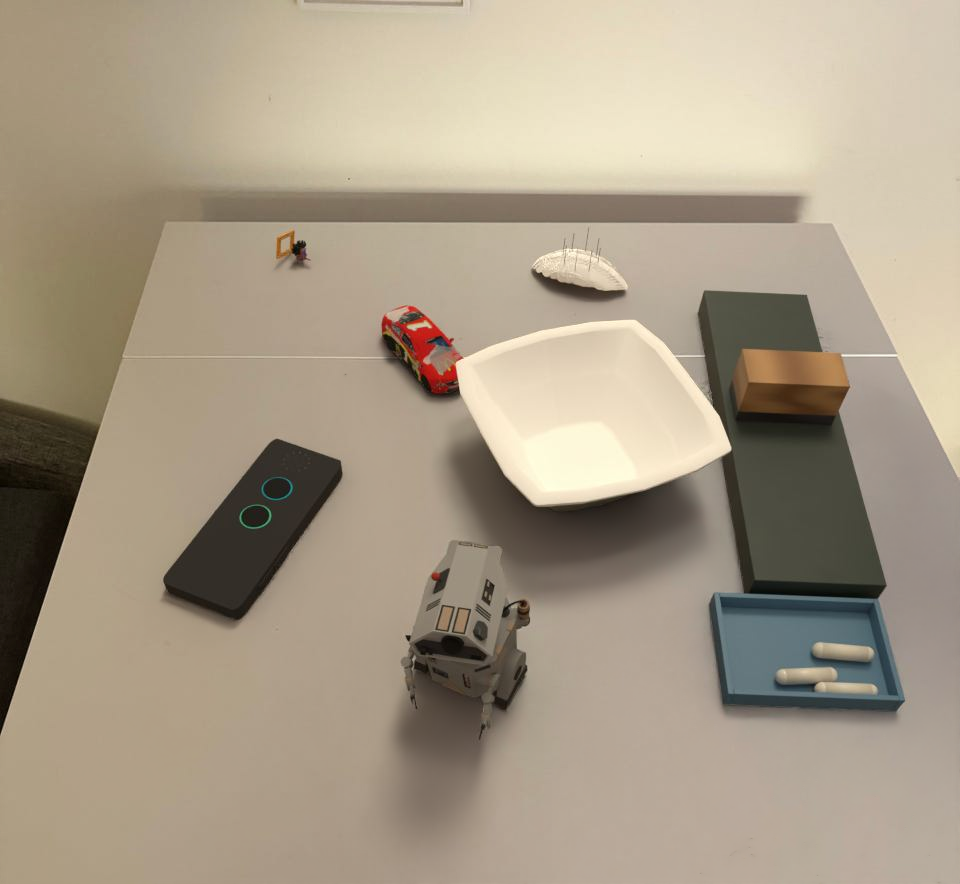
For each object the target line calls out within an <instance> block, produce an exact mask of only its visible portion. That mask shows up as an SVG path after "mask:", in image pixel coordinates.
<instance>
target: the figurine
mask: <svg viewBox="0 0 960 884" xmlns="http://www.w3.org/2000/svg"><path fill="white" fill-rule="evenodd" d="M502 553H503V548H502V547H501V546H499V545H493V544H485V543H479V542H471V541H463V540H457V539H451V540H450V541H449V543H448V546H447V549H446V553H445V554H444V556H443V557H442V559H441V560H440V561H439V563H438V564H437V565H436V567H435V568H434V569H433V571H432V572H431V573H430V575H429V576H428V578H427V582H426V585H425V589H424V591H423V595H422V598H421V601H420V605H419V608H418V612H417V614H416V617H415V622H414V625H413V627H412V631H411V634H406V635H405V638H406V641H407V642H408V645H409V647H408V654H407V656H403V657H402V658H401V659H400V665H401V666H402V667H403V673H404V675H405V676H404V681H405V682H404V683H405V686H406V688H407V690H408V692H409V694H410V696H409V697H410V698H409V699H410V701H411V704H412V705H414V707H415V709H416V710H418V704H417V700H416V699H417V698H416V696H417V694H416V691H415V690H416V689H417V687H416V683H415V679H414V670H415V671H418V672H419V673H422V674H424V675H426V674H427V673H428V671H429V673H430V676H431V679H432V681H435V682H437V683H439V684H441V686H443V687H446V688H447V689H450V690H452V691H454V692H457V693H460V694H461V695H463V696H464V695H467V696H469V697H471V698H473V699H475V698H478V697H481V701H482V702H483V707H482V708H483V709H482V712H481V715H480V731H479V734H478V740H480V741H481V739H482V734H483V730H485V729H487V728H488V730H490V729H492V725H493V724H492V722H493V721H492V720H493V714H492V704H493V705H495V706H496V707H499V708H502V709H504V710H507V709H508V707H509V706H510V704H511V702H512V700H513V698H514V696H515V694H516V693H517V690H518V689H519V687H520V685H521V684H522V681H523V679H525V676H526V674H527V673H528V665H527V652H525V651H523V650H521V649H518V640H517V639H518V637H517V635H518V634H517V630H520V629H522V628H523V627H527V626H529V625H530V624H531V617H530V612H531V605H530V601H529V600H528V599H527V598H520V599H519V600H516V601H513V602H511V603H510V601H509V599H508V597H507V594H508V590H509V589H508V586H507V583H506V578H505V575H504V571H503V569H502V566H501V557H502ZM515 604H517V607H512V606H514V605H515ZM414 656H415V659H414ZM413 659H414V660H413ZM494 692H496V693H495V695H494V694H493V693H494Z"/></svg>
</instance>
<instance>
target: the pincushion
mask: <svg viewBox="0 0 960 884" xmlns="http://www.w3.org/2000/svg"><path fill="white" fill-rule="evenodd" d="M589 230H590V227H588V229H587V232H589ZM572 235H573V237H572V240H574V239H575V234H572ZM588 236H589V233H587V236H586V239H589V238H588ZM585 242H586V243H585V246H588V245H587V244H588V241H585ZM565 243H566V239H564V241H563V246H565V248H562V249H559V250H555V251H552V252H548V253H547V254H544V255H542V256H540V257H539V258H537V260H535V262H534V263H533V264H532V266H531V269H533V270H535V272H536V273H538V274H540V273H542V275H543V276H544V277H545V278H550V279H552V280H557V281H558V282H560V283H561V284H563V283H566V284H572V286H574V285H576V286H579V287H583V288H595V290H598V291H603V292H606V291H623V290H624V291H627V290H628V287H629V285H628V284H627V282H626V281H625V279H624V278H623V277H622V274H621V273H620V271H618V269H617V268H616V267H615V266H614V264H613V263H611V262H609V261H608V260H607V259H606V258H604V257H602V256H601V251H599V254H598V252H596V253H595V252H593V251H589V250H587V248H585V249H580V248H573V247H574V242H572V243H571V248H567V245H566V244H565ZM599 243H600V239H598V241H597V244H599ZM598 247H599V245H597V246H596V251H598V249H599V250H601V247H599V248H598Z"/></svg>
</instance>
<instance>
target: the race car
mask: <svg viewBox="0 0 960 884" xmlns="http://www.w3.org/2000/svg"><path fill="white" fill-rule="evenodd" d="M381 335H382V339H383V341H384V342H385V344H386V346H387V348H388V350H389V351H390V352H392V353H394V354H395V356H396V357H398V359H399V360H400V361H401V362H402V363H403V364H404V366H405V367H406V368H407V369H408V370H409V371H410V372H411V373H412V374H413V375H414V376H415V378H416V379H417V380H418V381H419V382H420V383H421V384H422V387H423V388H424V390H425V391H426V392H427V393H431V392H432V393H434V394H448V393H453V392H456V391H460V388H459V382H458V376H457V370H456V362H457V361H459V360H461V359H464V358H465V357H464V356H462V354H461V353H460V352H459V351H458V349H457V348H456V347H455V346H454V345H453V344H452V343H453V342H454V341H455V339H454V338H455V337H451V338H448V337H447V335H446V334H445V333H444V332H443V331H442V330H441V329H440V328H439V326H437V325H436V324H435V323H434V322H433V321H432V320H431V319H430V318H429V317H428V316H427V315H426V314H424V312H422V311H421V310H420V309H418V308H417V307H416V306H414V305H408V304H407V305H402V306H399V307H396V308H394V309H391V310H389V311H387V312H386V313H385V314H384V315H383V317H382V320H381Z"/></svg>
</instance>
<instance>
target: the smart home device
mask: <svg viewBox="0 0 960 884" xmlns="http://www.w3.org/2000/svg"><path fill="white" fill-rule="evenodd" d="M343 474H344V473H343V466H342V461H341V460H340V459H337V458H334V457H332V456H329V455H326V454H324V453H320V452H317V451H315V450H311V449H309V448H306V447H303V446H301V445H297V444H294V443H292V442H289V441H286V440H283V439H280V438H275V439H273V440H271V441H270V442H269V443H268V444H267V445H266V447H264V449H263V450H262V452H261V453H260V454H259V455H258V456H257V457H256V458H255V460H254V462H253V463H252V464H251V465H250V466H249V468H248V469H247V470H246V471H245V473H244V474H243V475H242V476H241V478H240V479H239V480H238V482H237V483H235V485H234V487H233V488H232V489H231V491H230V492H229V493H228V494H227V496H226V497H225V498H224V499H223V501H222V502H221V503H220V504H219V506H218V507H217V508H216V509H215V511H214V512H213V513H212V514H211V515H210V517H209V518H208V519H207V521H206V522H205V523H204V525H203V526H202V527H201V528H200V530H199V531H198V532H197V533H196V534H195V536H194V537H193V539H192V540H191V541H190V542H189V543H188V544H187V546H186V548H185V549H184V550H183V551H182V552H181V554H180V555H179V556H178V557H177V559H176V560H175V561H174V562H173V564H172V565H171V566H170V568H169V569H168V570H167V571H166V573H165V574H164V576H163V578H162V583H163V584H164V587H165V589H166V591H167V593H168V594H170V595H172V596H175V597H177V598H179V599H182V600H185V601H187V602H190V603H192V604H195V605H197V606H200V607H203V608H205V609H207V610H210V611H213V612H216V613H218V614H220V615H223V616H226V617H228V618H230V619H233V620H237V621H238V620H240V619H242V618H243V617H244V616H245V615H246V614H247V613H248V611H249V610H250V608H251V607H252V606H253V605H254V603H255V601H256V600H257V598H259V596H260V595H261V593H262V592H263V590H264V589H265V588H266V586H267V584H268V583H269V582H270V580H271V579H272V577H273V576H274V574H275V573H276V572H277V570H278V569H279V568H280V566H281V565H282V563H283V562H284V560H285V559H286V558H287V557H288V555H289V553H290V552H291V551H292V550H293V547H294V546H295V545H296V543H297V542H298V540H299V539H300V538H301V536H302V535H303V533H304V532H305V531H306V529H307V528H308V527H309V525H310V524H311V523H312V521H313V519H314V518H315V517H316V515H317V514H318V513H319V511H320V510H321V508H322V507H323V505H324V504H325V502H326V501H327V499H328V498H329V497H330V496H331V494H332V493H333V492H334V489H336V487H337V486H338V484H339V482H340V481H341V480H342V477H343Z"/></svg>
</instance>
